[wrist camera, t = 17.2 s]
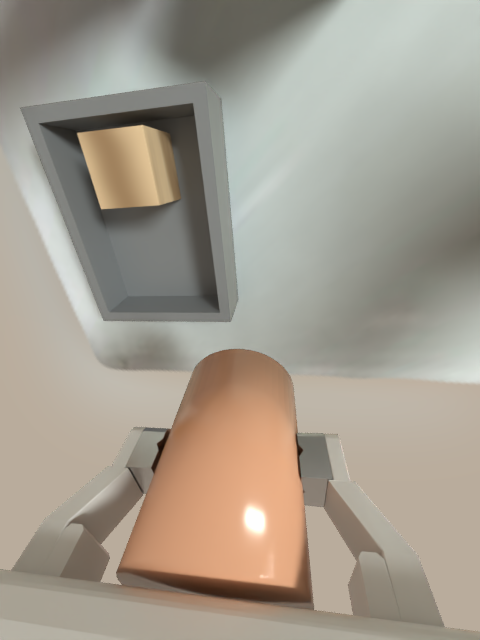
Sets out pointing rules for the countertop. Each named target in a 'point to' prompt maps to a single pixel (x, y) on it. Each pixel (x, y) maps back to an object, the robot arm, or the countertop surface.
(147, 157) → the oak cube
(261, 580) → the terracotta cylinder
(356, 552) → the robot arm
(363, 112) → the countertop surface
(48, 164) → the tote
